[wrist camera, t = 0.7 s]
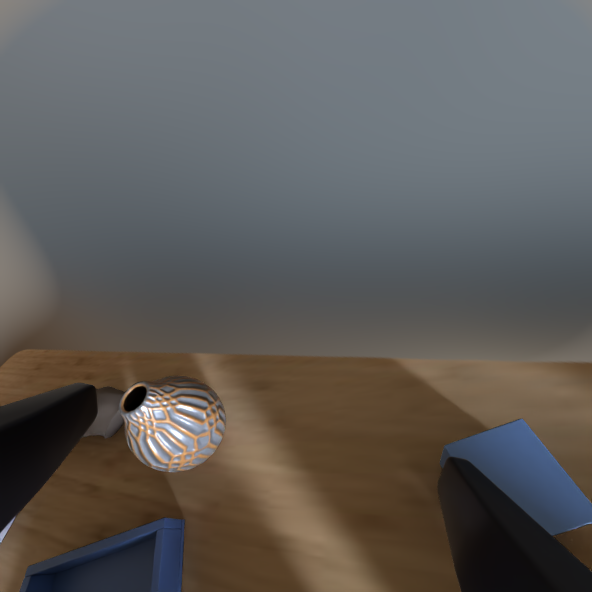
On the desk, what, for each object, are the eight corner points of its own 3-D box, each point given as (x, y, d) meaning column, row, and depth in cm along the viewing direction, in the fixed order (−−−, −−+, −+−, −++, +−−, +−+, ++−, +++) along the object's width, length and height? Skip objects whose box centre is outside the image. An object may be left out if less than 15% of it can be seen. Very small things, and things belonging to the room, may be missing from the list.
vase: (248, 443, 23) (189, 405, 17) (177, 498, 22) (86, 480, 16) (223, 383, 28) (168, 336, 22) (162, 426, 27) (88, 390, 21)
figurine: (54, 450, 30) (128, 460, 26) (8, 440, 27) (83, 450, 22) (88, 391, 34) (158, 391, 29) (52, 377, 31) (123, 374, 26)
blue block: (565, 525, 15) (604, 519, 12) (486, 550, 16) (504, 551, 12) (504, 440, 18) (522, 417, 15) (439, 462, 19) (443, 445, 16)
